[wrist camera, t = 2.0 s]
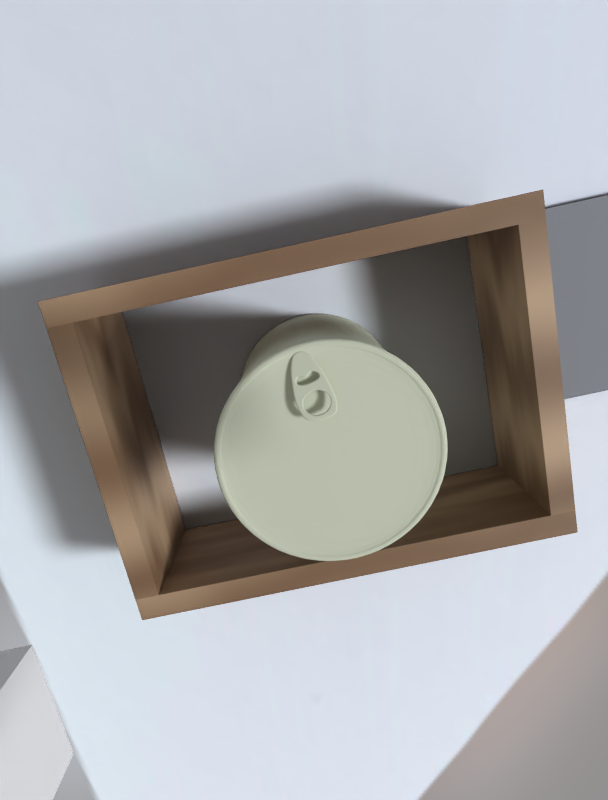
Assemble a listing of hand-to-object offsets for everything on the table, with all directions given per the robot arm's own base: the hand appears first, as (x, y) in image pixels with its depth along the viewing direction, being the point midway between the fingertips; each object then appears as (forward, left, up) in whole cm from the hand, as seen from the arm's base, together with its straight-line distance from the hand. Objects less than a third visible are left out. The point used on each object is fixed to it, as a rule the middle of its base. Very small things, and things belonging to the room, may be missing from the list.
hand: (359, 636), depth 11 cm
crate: (0, 0, -22) cm, 22 cm away
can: (0, 0, -22) cm, 22 cm away
